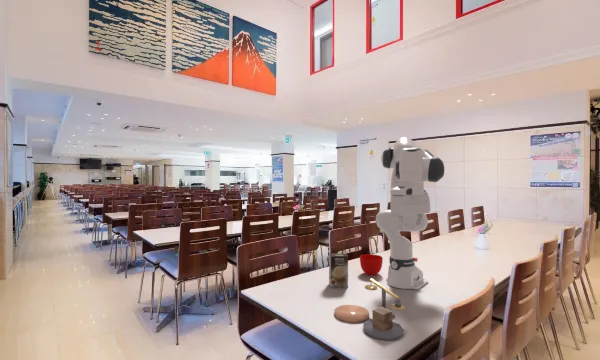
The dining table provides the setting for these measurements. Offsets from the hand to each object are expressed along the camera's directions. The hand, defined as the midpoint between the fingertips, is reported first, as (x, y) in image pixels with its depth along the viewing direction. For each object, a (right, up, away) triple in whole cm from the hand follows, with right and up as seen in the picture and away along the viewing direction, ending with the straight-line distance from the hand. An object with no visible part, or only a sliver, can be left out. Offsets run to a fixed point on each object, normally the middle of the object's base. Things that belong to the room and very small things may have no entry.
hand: (411, 226), depth 116 cm
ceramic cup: (-1, -38, +64) cm, 74 cm away
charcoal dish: (-12, -37, -5) cm, 39 cm away
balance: (-9, -37, +6) cm, 39 cm away
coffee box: (-22, -38, +43) cm, 61 cm away
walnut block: (-12, -36, -5) cm, 38 cm away
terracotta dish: (-21, -37, +8) cm, 44 cm away
